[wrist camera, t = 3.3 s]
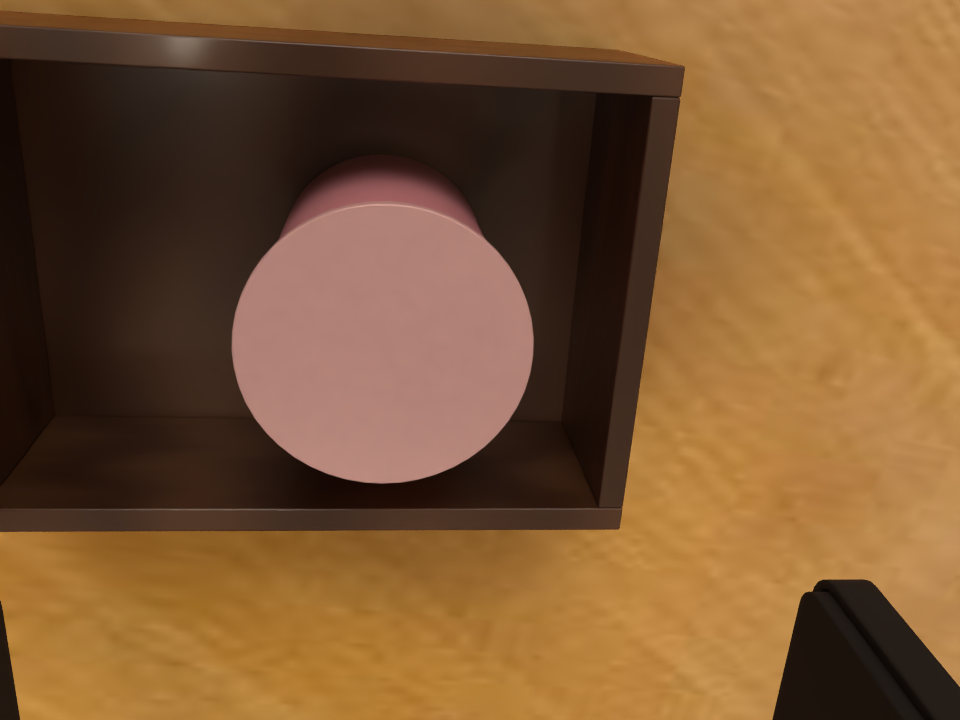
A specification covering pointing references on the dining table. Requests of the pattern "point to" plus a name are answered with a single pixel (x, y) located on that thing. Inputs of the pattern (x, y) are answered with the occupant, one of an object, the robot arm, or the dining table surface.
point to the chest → (257, 227)
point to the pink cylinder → (382, 326)
